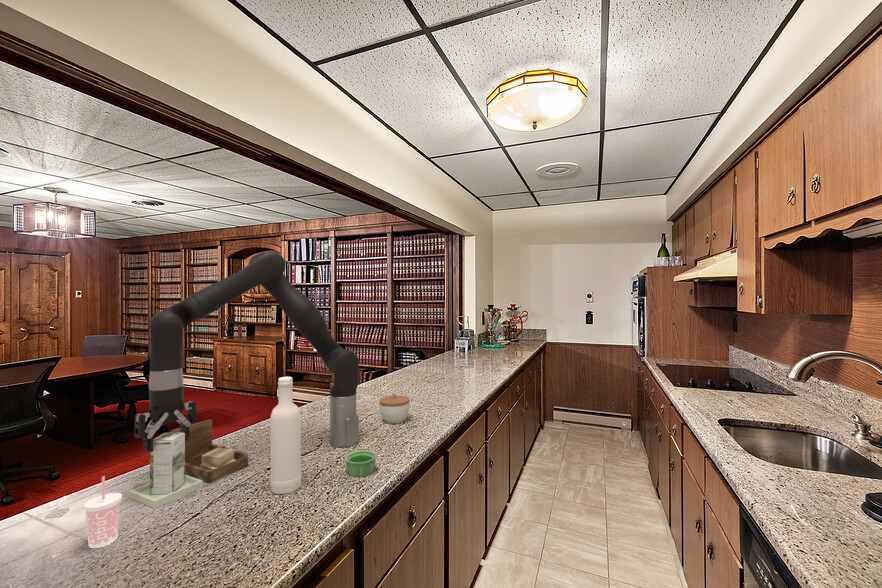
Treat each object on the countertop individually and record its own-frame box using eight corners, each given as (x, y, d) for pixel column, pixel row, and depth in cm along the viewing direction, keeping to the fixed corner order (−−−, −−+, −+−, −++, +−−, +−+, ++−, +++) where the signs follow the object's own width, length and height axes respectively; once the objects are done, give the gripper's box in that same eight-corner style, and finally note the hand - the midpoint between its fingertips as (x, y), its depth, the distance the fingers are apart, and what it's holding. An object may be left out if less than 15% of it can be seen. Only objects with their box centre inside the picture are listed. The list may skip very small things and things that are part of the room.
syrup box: (163, 484, 105) (162, 432, 105) (186, 483, 106) (185, 431, 106) (149, 495, 100) (148, 440, 99) (173, 494, 100) (172, 439, 100)
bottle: (270, 483, 106) (269, 376, 107) (300, 478, 109) (299, 373, 110) (270, 497, 99) (269, 382, 99) (302, 490, 102) (301, 379, 102)
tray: (203, 486, 105) (203, 480, 105) (153, 508, 94) (153, 501, 94) (178, 477, 110) (178, 472, 110) (129, 497, 100) (129, 490, 100)
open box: (247, 466, 118) (247, 427, 118) (209, 483, 107) (208, 440, 107) (210, 455, 126) (210, 419, 126) (171, 470, 116) (170, 430, 116)
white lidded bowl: (375, 418, 163) (375, 393, 163) (403, 414, 168) (403, 389, 168) (384, 427, 151) (384, 400, 152) (414, 423, 157) (413, 396, 157)
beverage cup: (77, 555, 77) (77, 485, 77) (91, 537, 83) (91, 473, 83) (115, 546, 80) (115, 479, 80) (126, 530, 85) (126, 468, 85)
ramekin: (339, 475, 111) (339, 460, 111) (356, 462, 120) (356, 448, 120) (365, 480, 108) (365, 464, 108) (381, 466, 116) (381, 452, 117)
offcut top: (234, 459, 117) (234, 449, 117) (218, 467, 111) (218, 457, 111) (218, 457, 118) (217, 447, 118) (201, 465, 112) (201, 455, 113)
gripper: (143, 393, 95) (144, 458, 94) (201, 381, 107) (202, 438, 107) (128, 390, 98) (129, 453, 98) (186, 379, 111) (187, 434, 111)
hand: (167, 445), depth 103 cm, fingers open, 8 cm apart
